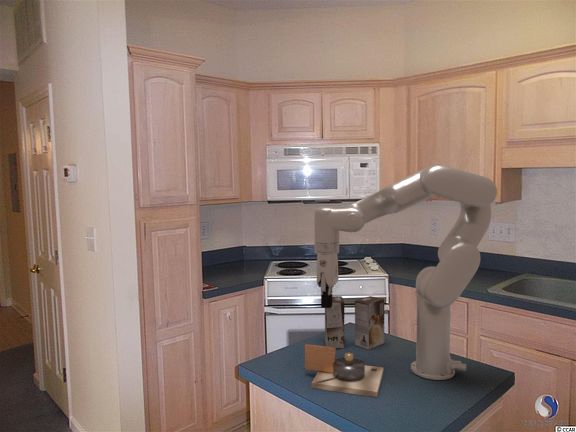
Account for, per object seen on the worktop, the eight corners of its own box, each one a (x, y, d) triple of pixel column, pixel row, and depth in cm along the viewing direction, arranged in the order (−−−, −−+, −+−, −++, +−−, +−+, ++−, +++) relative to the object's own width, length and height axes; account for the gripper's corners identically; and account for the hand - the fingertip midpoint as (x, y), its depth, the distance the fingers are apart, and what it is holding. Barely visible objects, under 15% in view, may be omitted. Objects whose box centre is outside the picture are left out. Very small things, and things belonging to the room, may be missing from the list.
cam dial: (366, 369, 129) (366, 345, 129) (362, 382, 121) (362, 357, 120) (309, 362, 135) (309, 339, 134) (301, 374, 126) (301, 350, 126)
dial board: (383, 372, 131) (383, 367, 131) (377, 397, 116) (377, 391, 116) (324, 365, 137) (324, 360, 137) (311, 388, 122) (311, 382, 122)
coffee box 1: (344, 348, 151) (345, 302, 150) (326, 348, 151) (326, 302, 150) (342, 339, 160) (342, 295, 159) (324, 339, 160) (324, 295, 159)
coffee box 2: (370, 338, 160) (370, 295, 159) (384, 343, 155) (385, 298, 154) (354, 345, 154) (354, 300, 152) (369, 350, 149) (369, 303, 148)
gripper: (333, 252, 125) (333, 315, 126) (343, 244, 139) (343, 301, 140) (308, 250, 127) (308, 312, 128) (320, 244, 141) (320, 299, 143)
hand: (326, 306), depth 134 cm, fingers closed
